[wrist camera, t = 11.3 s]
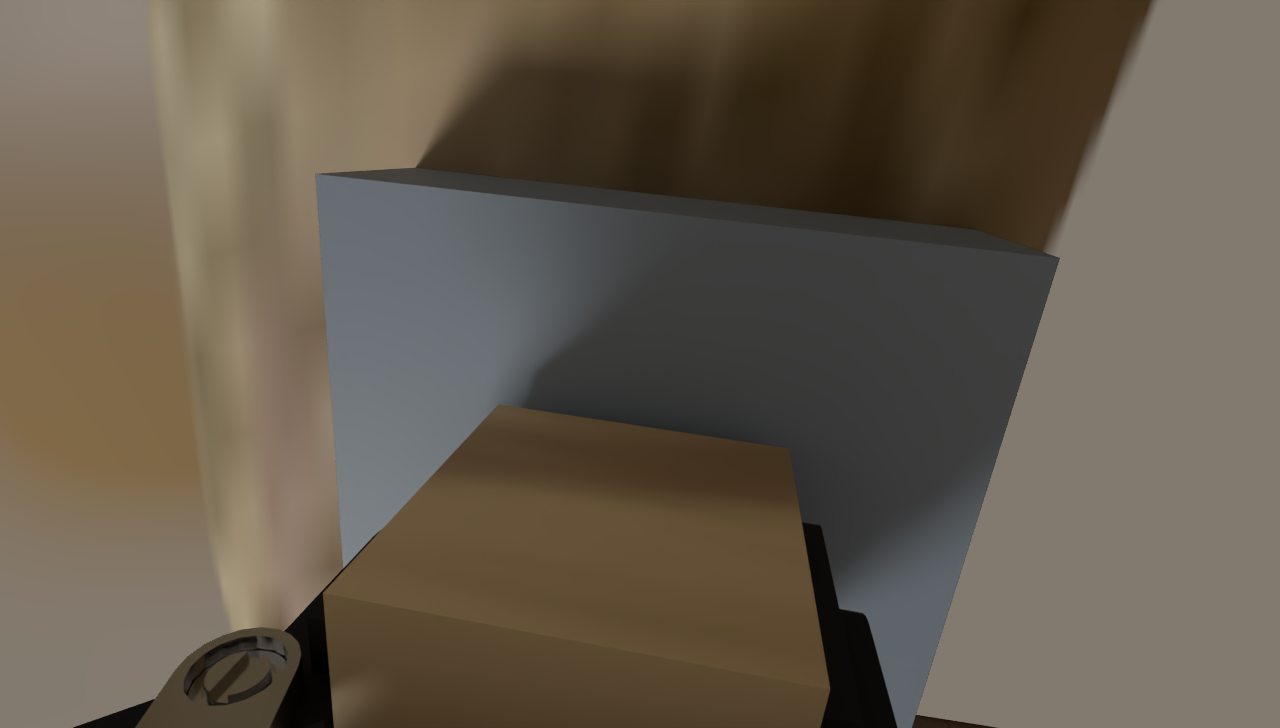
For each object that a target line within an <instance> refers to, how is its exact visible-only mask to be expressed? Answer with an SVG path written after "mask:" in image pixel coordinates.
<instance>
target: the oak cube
mask: <svg viewBox="0 0 1280 728" xmlns="http://www.w3.org/2000/svg"><path fill="white" fill-rule="evenodd" d="M323 601H324V613H325V625H326V637H327V649H328V661H329V673H330V685H331V697H332V710H333V722H334V728H820V727H821V723H822V719H823V716H824V712H825V708H826V704H827V700H828V696H829V692H830V685H829V679H828V673H827V667H826V661H825V655H824V650H823V644H822V638H821V632H820V626H819V620H818V614H817V609H816V603H815V597H814V591H813V585H812V579H811V573H810V568H809V562H808V556H807V550H806V544H805V538H804V532H803V527H802V521H801V515H800V509H799V503H798V497H797V491H796V486H795V480H794V474H793V468H792V462H791V456H790V450H789V448H782V447H776V446H769V445H762V444H756V443H749V442H743V441H736V440H730V439H723V438H717V437H710V436H703V435H697V434H690V433H684V432H677V431H671V430H664V429H657V428H651V427H644V426H638V425H631V424H625V423H618V422H611V421H605V420H598V419H592V418H585V417H579V416H572V415H565V414H559V413H552V412H546V411H539V410H533V409H526V408H519V407H513V406H506V405H500V404H498V405H497V406H496V407H495V408H494V410H493V411H492V412H491V413H490V414H489V415H488V416H487V417H486V418H485V419H484V420H483V421H482V422H481V424H480V425H479V426H478V427H477V428H476V429H475V430H474V431H473V432H472V433H471V434H470V435H469V436H468V438H467V439H466V440H465V441H464V442H463V443H462V444H461V445H460V446H459V447H458V448H457V449H456V450H455V451H454V453H453V454H452V455H451V456H450V457H449V458H448V459H447V460H446V461H445V462H444V463H443V464H442V465H441V467H440V468H439V469H438V470H437V471H436V472H435V473H434V474H433V475H432V476H431V477H430V478H429V479H428V481H427V482H426V483H425V484H424V485H423V486H422V487H421V488H420V489H419V490H418V491H417V492H416V493H415V495H414V496H413V497H412V498H411V499H410V500H409V501H408V502H407V503H406V504H405V505H404V506H403V507H402V509H401V510H400V511H399V512H398V513H397V514H396V515H395V516H394V517H393V518H392V519H391V520H390V521H389V523H388V524H387V525H386V526H385V527H384V528H383V529H382V530H381V531H380V532H379V533H378V534H377V535H376V536H375V538H374V539H373V540H372V541H371V542H370V543H369V544H368V545H367V546H366V547H365V548H364V549H363V550H362V552H361V553H360V554H359V555H358V556H357V557H356V558H355V559H354V560H353V561H352V562H351V563H350V564H349V566H348V567H347V568H346V569H345V570H344V571H343V572H342V573H341V574H340V575H339V576H338V577H337V578H336V580H335V581H334V582H333V583H332V584H331V585H330V586H329V587H328V588H327V589H326V590H325V591H324V592H323Z"/></svg>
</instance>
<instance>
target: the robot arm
mask: <svg viewBox="0 0 1280 728" xmlns="http://www.w3.org/2000/svg"><path fill="white" fill-rule="evenodd" d="M802 527H803V532H804V538H805V544H806V550H807V556H808V562H809V568H810V573H811V579H812V585H813V591H814V597H815V603H816V609H817V614H818V620H819V626H820V632H821V638H822V644H823V650H824V655H825V661H826V667H827V673H828V679H829V685H830V692H829V696H828V700H827V704H826V708H825V712H824V716H823V719H822V723H821V727H820V728H898V727H897V724H896V720H895V716H894V713H893V709H892V705H891V702H890V698H889V694H888V691H887V687H886V684H885V680H884V676H883V673H882V669H881V665H880V662H879V658H878V654H877V651H876V647H875V643H874V640H873V636H872V633H871V629H870V625H869V622H868V620H867V617H866V616H865V615H864V614H863V613H860V612H854V611H848V610H843V609H839V605H838V600H837V596H836V591H835V587H834V582H833V578H832V573H831V568H830V564H829V559H828V555H827V550H826V546H825V541H824V536H823V532H822V528H821V526H820V525H816V524H810V523H804V522H802ZM379 532H380V531H379ZM379 532H378V533H379ZM378 533H377V534H378ZM377 534H375V535H374V536H373V537H372V538H371V539H370V540H369V541H368V543H367V544H366V545H365V546H364V547H363V548H362V549H361V550H360V551H359V552H358V553H357V554H356V555H355V556H354V557H353V559H352V560H351V561H350V562H349V563H348V564H347V565H346V566H345V567H344V568H343V569H342V570H341V571H340V572H339V574H338V575H337V576H336V577H335V578H334V579H333V580H332V581H331V582H330V583H329V584H328V585H327V586H326V587H325V588H324V590H323V591H322V592H321V593H320V594H319V595H318V596H317V597H316V598H315V599H314V600H313V601H312V602H311V603H310V605H309V606H308V607H307V608H306V609H305V610H304V611H303V612H302V613H301V614H300V615H299V616H298V617H297V618H296V619H295V621H294V622H293V623H292V624H291V625H290V626H289V627H288V628H287V629H286V630H285V631H282V630H279V629H273V628H263V627H260V628H251V629H243V630H239V631H236V632H233V633H230V634H226V635H223V636H221V637H219V638H217V639H214V640H212V641H210V642H208V643H206V644H204V645H203V646H202V647H200V648H199V649H197V650H196V651H194V652H193V653H192V654H190V655H189V656H188V657H187V658H186V659H185V660H184V661H183V662H182V663H181V664H180V665H179V666H178V668H177V669H176V670H175V671H174V673H173V674H172V675H171V677H170V678H169V680H168V681H167V683H166V684H165V685H164V687H163V688H162V690H161V691H160V693H159V694H158V696H157V697H156V699H153V700H150V701H148V702H145V703H142V704H139V705H136V706H134V707H131V708H128V709H125V710H122V711H119V712H116V713H113V714H110V715H108V716H105V717H102V718H99V719H96V720H93V721H91V722H88V723H85V724H82V725H79V726H76V727H74V728H334V722H333V710H332V697H331V685H330V673H329V661H328V649H327V637H326V625H325V613H324V601H323V592H324V591H325V590H326V589H327V588H328V587H329V586H330V585H331V584H332V583H333V582H334V581H335V580H336V578H337V577H338V576H339V575H340V574H341V573H342V572H343V571H344V570H345V569H346V568H347V567H348V566H349V564H350V563H351V562H352V561H353V560H354V559H355V558H356V557H357V556H358V555H359V554H360V553H361V552H362V550H363V549H364V548H365V547H366V546H367V545H368V544H369V543H370V542H371V541H372V540H373V539H374V538H375V536H376V535H377Z"/></svg>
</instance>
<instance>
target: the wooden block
mask: <svg viewBox="0 0 1280 728" xmlns="http://www.w3.org/2000/svg"><path fill="white" fill-rule="evenodd" d="M912 728H995V727H989V726H983V725H977V724H970V723H964V722H958V721H951V720H945V719H939V718H932V717H925V716H920V715H916V716H915V719H914V722H913V725H912Z"/></svg>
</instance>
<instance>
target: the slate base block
mask: <svg viewBox="0 0 1280 728" xmlns="http://www.w3.org/2000/svg"><path fill="white" fill-rule="evenodd" d="M315 177H316V191H317V205H318V219H319V233H320V247H321V261H322V275H323V289H324V303H325V317H326V331H327V345H328V359H329V373H330V387H331V401H332V415H333V429H334V443H335V457H336V471H337V485H338V499H339V513H340V527H341V541H342V556H343V568H344V567H345V566H346V565H347V564H348V563H349V562H350V561H351V560H352V559H353V557H354V556H355V555H356V554H357V553H358V552H359V551H360V550H361V549H362V548H363V547H364V546H365V545H366V544H367V543H368V541H369V540H370V539H371V538H372V537H373V536H374V535H375V534H377V533H378V532H379V531H381V530H382V529H383V528H384V527H385V526H386V525H387V524H388V523H389V521H390V520H391V519H392V518H393V517H394V516H395V515H396V514H397V513H398V512H399V511H400V510H401V509H402V507H403V506H404V505H405V504H406V503H407V502H408V501H409V500H410V499H411V498H412V497H413V496H414V495H415V493H416V492H417V491H418V490H419V489H420V488H421V487H422V486H423V485H424V484H425V483H426V482H427V481H428V479H429V478H430V477H431V476H432V475H433V474H434V473H435V472H436V471H437V470H438V469H439V468H440V467H441V465H442V464H443V463H444V462H445V461H446V460H447V459H448V458H449V457H450V456H451V455H452V454H453V453H454V451H455V450H456V449H457V448H458V447H459V446H460V445H461V444H462V443H463V442H464V441H465V440H466V439H467V438H468V436H469V435H470V434H471V433H472V432H473V431H474V430H475V429H476V428H477V427H478V426H479V425H480V424H481V422H482V421H483V420H484V419H485V418H486V417H487V416H488V415H489V414H490V413H491V412H492V411H493V410H494V408H495V407H496V406H497V405H498V404H500V405H506V406H513V407H519V408H526V409H533V410H539V411H546V412H552V413H559V414H565V415H572V416H579V417H585V418H592V419H598V420H605V421H611V422H618V423H625V424H631V425H638V426H644V427H651V428H657V429H664V430H671V431H677V432H684V433H690V434H697V435H703V436H710V437H717V438H723V439H730V440H736V441H743V442H749V443H756V444H762V445H769V446H776V447H782V448H789V450H790V456H791V462H792V468H793V474H794V480H795V486H796V491H797V497H798V503H799V509H800V515H801V521H802V522H804V523H810V524H816V525H820V526H821V528H822V532H823V536H824V541H825V546H826V550H827V555H828V559H829V564H830V568H831V573H832V578H833V582H834V587H835V591H836V596H837V600H838V605H839V609H843V610H848V611H854V612H860V613H863V614H864V615H865V616H866V617H867V620H868V622H869V625H870V629H871V633H872V636H873V640H874V643H875V647H876V651H877V654H878V658H879V662H880V665H881V669H882V673H883V676H884V680H885V684H886V687H887V691H888V694H889V698H890V702H891V705H892V709H893V713H894V716H895V720H896V724H897V727H898V728H912V725H913V722H914V719H915V716H916V713H917V709H918V706H919V703H920V700H921V697H922V694H923V690H924V687H925V684H926V681H927V678H928V675H929V671H930V668H931V665H932V662H933V659H934V655H935V652H936V649H937V646H938V643H939V639H940V637H941V633H942V630H943V627H944V624H945V621H946V617H947V614H948V611H949V608H950V605H951V601H952V598H953V595H954V592H955V589H956V586H957V583H958V579H959V576H960V573H961V570H962V567H963V564H964V560H965V557H966V554H967V551H968V548H969V545H970V541H971V538H972V535H973V532H974V529H975V525H976V522H977V519H978V516H979V513H980V510H981V507H982V503H983V500H984V497H985V494H986V490H987V487H988V484H989V481H990V478H991V475H992V472H993V468H994V465H995V462H996V459H997V456H998V453H999V449H1000V446H1001V443H1002V440H1003V437H1004V433H1005V430H1006V427H1007V424H1008V421H1009V418H1010V415H1011V411H1012V408H1013V405H1014V402H1015V398H1016V396H1017V392H1018V389H1019V386H1020V383H1021V380H1022V377H1023V373H1024V370H1025V367H1026V364H1027V361H1028V358H1029V354H1030V351H1031V348H1032V345H1033V342H1034V339H1035V335H1036V332H1037V329H1038V326H1039V323H1040V319H1041V316H1042V313H1043V310H1044V307H1045V303H1046V300H1047V297H1048V294H1049V291H1050V288H1051V285H1052V281H1053V278H1054V275H1055V272H1056V269H1057V265H1058V262H1059V259H1060V258H1058V257H1055V256H1052V255H1049V254H1046V253H1043V252H1040V251H1037V250H1035V249H1032V248H1029V247H1026V246H1023V245H1020V244H1017V243H1014V242H1011V241H1008V240H1005V239H1002V238H999V237H996V236H993V235H991V234H988V233H985V232H982V231H979V230H976V229H967V228H958V227H949V226H940V225H931V224H922V223H913V222H904V221H895V220H885V219H876V218H867V217H858V216H849V215H840V214H831V213H822V212H813V211H804V210H795V209H786V208H777V207H767V206H758V205H749V204H740V203H731V202H722V201H713V200H704V199H695V198H686V197H677V196H668V195H659V194H649V193H640V192H631V191H622V190H613V189H604V188H595V187H586V186H577V185H568V184H559V183H550V182H541V181H532V180H522V179H513V178H504V177H495V176H486V175H477V174H468V173H459V172H450V171H441V170H432V169H423V168H403V169H387V170H371V171H355V172H338V173H322V174H315Z"/></svg>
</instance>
